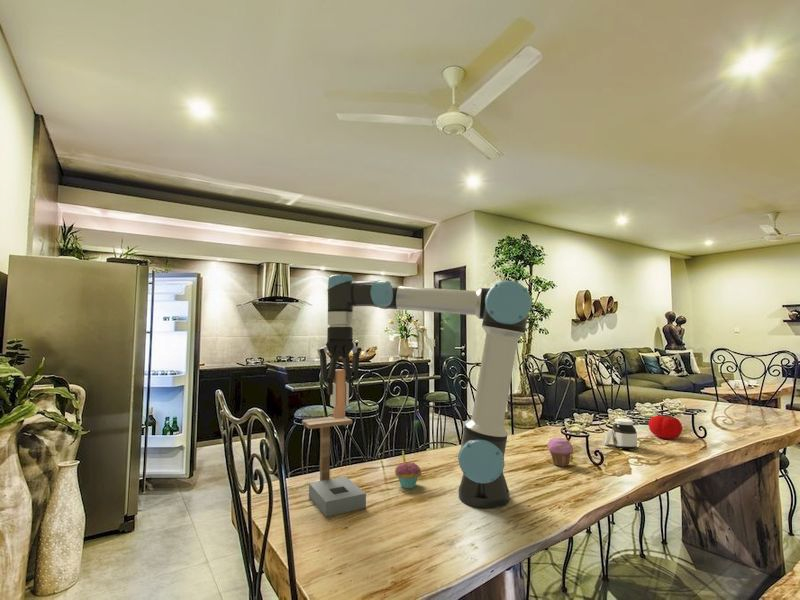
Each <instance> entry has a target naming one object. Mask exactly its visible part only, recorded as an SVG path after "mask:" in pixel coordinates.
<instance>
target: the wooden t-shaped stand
mask: <svg viewBox="0 0 800 600" xmlns="http://www.w3.org/2000/svg"><path fill="white" fill-rule="evenodd" d="M301 424H302V425H303V426H304V427H306V428H307V429H308V430H312V429H319V430H320V434H319V437H320V438H319V440H320V441H319V444H320V445H319V446H320V447H319V481H323V480H328V479H331V477H330V472H331V469H330V468H331V467H330V464H331V463H330V462H331V461H330V459H331V458H330V456H331V454H330V453H331V452H330V451H331V449H330V448H331V439H330V438H331V427H337V426H346V425H352V424H353V419H351V418H349V417H348V416H345V418H341V419H336V418H334V416H328V417H327V416H325V417H318V418H310V419H309V418H308V419H301Z"/></svg>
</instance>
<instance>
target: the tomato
mask: <svg viewBox="0 0 800 600" xmlns="http://www.w3.org/2000/svg"><path fill="white" fill-rule="evenodd" d="M648 429H649V431H650V433H652V434H653V435H654V436H656V437H658V438H662V439H664V440H665V439H666V440H672V439H676V438H678V437H679V436H680V435H681V434H682V432H683V425H682V422H681V421H680V420H679V419H678V418H676V417H675V416H672V415H667V414H655V416H653V417H651V418H649V421H648Z"/></svg>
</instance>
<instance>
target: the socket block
mask: <svg viewBox="0 0 800 600" xmlns="http://www.w3.org/2000/svg"><path fill="white" fill-rule="evenodd" d="M308 497H309V498H310V500H311V501H312V503H314V505H315V506H316V507H317V509H318V510H319V511H320V512H321V513H322V514H323V516H324V518H327V517H331V516H332V517H333V516H337V515H340V514H344V513H349V512H353V511H358V510H363V509H366V508H367V493H366V492H365V491H364V490H363V489H361V488H360V487H359V486H358V485H357V484H355V483H354V482H353V481H352V480H351V479H350V478H348V477H347V476H346V475H345V476H340V477H335V478H330V479H328V480H323V481H320V480H319V481H314V482H313V481H312V482H309V483H308Z"/></svg>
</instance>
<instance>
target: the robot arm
mask: <svg viewBox="0 0 800 600" xmlns="http://www.w3.org/2000/svg"><path fill="white" fill-rule="evenodd" d="M327 280H328V284H327V325H328V327H327V332H326V333H327V339H326V340H327V342H326V343H325V346H323V347H320V348H317V353H318V356H319V366H320V380H321V382H324V383H326V385H327V386H326V387H327V389H326V390H327V391H326V392H327V393H326V394H328V395H329V396H330V397H329V401H330V402H329V403H330V404H329V405H330V406H331V407H333V408H334V407H335V406H336V384H334V376H335V370H336V369H337V364H338V359H339V358H341V360H342V365H343V369H345V406H349V405H350V404H349V402H350V400H349V399H350V398H349V396H350V394H351V393H352V388H353V387H352V384H353V382H354V381H358V379H359V366H360V354H361V352H362V347H359V346H357V345H355V344H354V342H353V327H352V326H353V324H354V321H353V320H354V318H353V315H354V314H353V313H354V311H353V308H354V307H372V308H373V307H375V308H379V309H382V310H388V309H392V310H403V311H404V310H405V311H415V312H418V311H419V312H427V313H428V312H430V313H441V314H442V313H444V314H455V315H456V314H458V315H466V316H467V315H468V316H469V315H470V316H476V317H477V318H478V319H479V320H482V324H481V327H482V328H483V330H484V332H485V339H484V345H483V352H482V356H481V361H480V362H481V363H480V368H479V373H478V374H479V375H478V379H477V385H476V391H475V397H474V404H473V408H472V415H471V418H470V419H467V420H465V421H463V426H462V432H463V433H462V439H461V444H460V450H459V452H458V456H457V457H458V458H457V459H458V464H459V467H460V468H459V469H460V470H461V472H462V475H461V480H460V485H459V486H458V499H459V500H460V501H461V502H462V503H464V504H466V505H469V506H471V507H475V508H482V509H495V508H501V507H502V508H503V507H504V506H507V505H508V504H509V503H510V499H511V498H510V495H511V494H510V489H509V487H508V483H507V480H506V477H505V475H504V469H505V462H506V461H505V452H506V447H507V440H508V435H509V433H508V431H507V429H506V428H505V427H504V423H505V417H506V413H507V406H508V399H509V394H510V388H511V382H512V378H513V377H512V376H513V369H514V366H515V365H514V364H515V359H516V353H517V347H518V342H519V339H520V338H521V337H522V336H524V335H525V334H526V327H527V323H528V317H529V314H530V311H531V309H532V298H531V294H530V292H529V291H528V289H527V288H526V287H525V286H524V285H523V284H521V283H520V282H518V281H514V280H502V281H499V282H497V283H495V284H493V285H492V286H491V287H489V288H488V287H487V288H486V287H480V288H479V289H478V290H467V289H463V290H462V289H453V288H452V289H449V288H434V287H433V288H432V287H418V286H417V287H415V286H399V285H398V286H397V285H392V283H391V282H390V281H388V280H378V279H377V280H368V281H367V280H366V281H365V280H364V281H356V280H355V281H354V278H353V275H350V274H332V275H330V276H329V277H328V279H327ZM327 351H328V353H329V354H330V358H329V359H330V362H329V367H328V364H327V363H328V362H327V361H328V360H327ZM351 351H352V360H351V361H352V363H351V364H350V353H351Z"/></svg>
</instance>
